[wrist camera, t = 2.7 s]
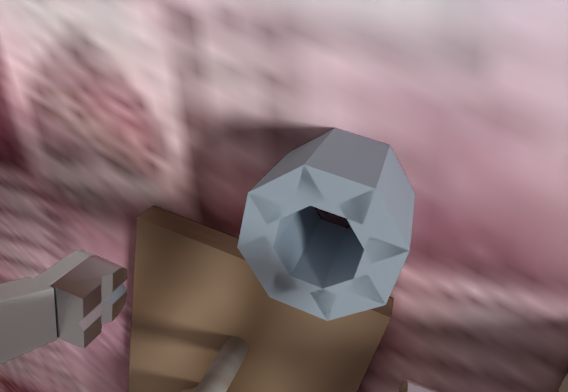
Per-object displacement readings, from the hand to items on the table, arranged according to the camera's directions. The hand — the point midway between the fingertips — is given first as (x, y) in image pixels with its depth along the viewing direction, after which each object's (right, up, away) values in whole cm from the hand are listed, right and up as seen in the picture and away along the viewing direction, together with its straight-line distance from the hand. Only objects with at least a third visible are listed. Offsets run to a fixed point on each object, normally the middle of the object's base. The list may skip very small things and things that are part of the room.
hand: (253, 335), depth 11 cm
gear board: (-2, -8, +15) cm, 17 cm away
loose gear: (+4, +4, +8) cm, 10 cm away
